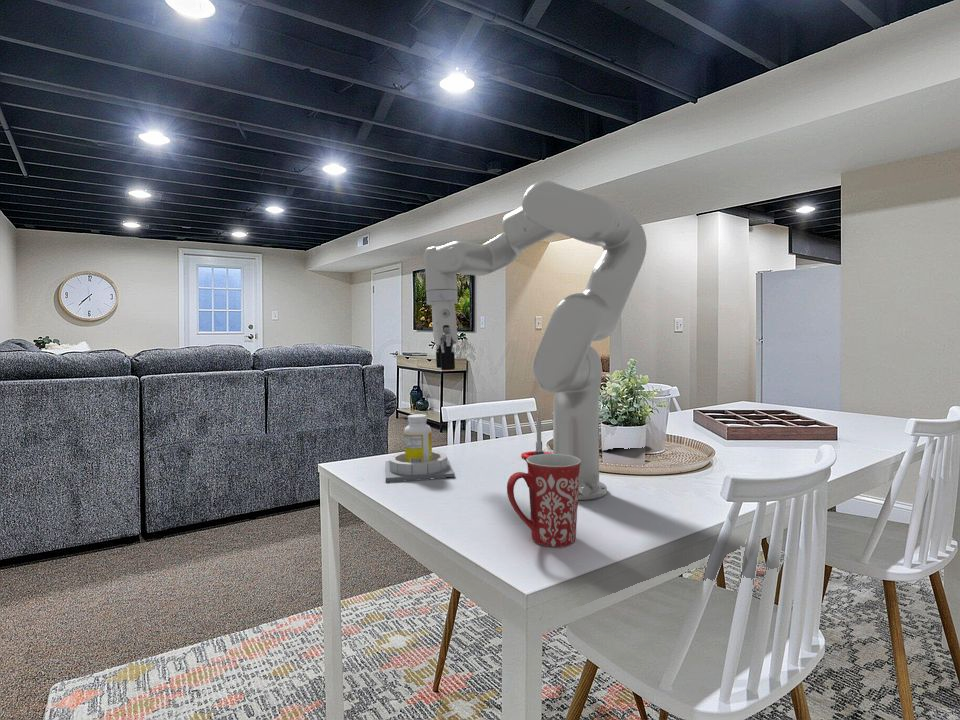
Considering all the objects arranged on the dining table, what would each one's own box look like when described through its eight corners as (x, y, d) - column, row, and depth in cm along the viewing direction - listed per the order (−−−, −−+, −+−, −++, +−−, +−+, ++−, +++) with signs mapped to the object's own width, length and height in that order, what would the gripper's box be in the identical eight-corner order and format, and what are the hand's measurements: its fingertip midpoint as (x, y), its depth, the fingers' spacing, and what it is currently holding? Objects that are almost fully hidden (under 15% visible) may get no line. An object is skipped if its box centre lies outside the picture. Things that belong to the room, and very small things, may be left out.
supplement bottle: (423, 462, 143) (421, 412, 142) (437, 467, 137) (436, 415, 137) (400, 466, 139) (398, 415, 138) (414, 472, 133) (412, 418, 133)
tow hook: (519, 455, 154) (523, 462, 145) (519, 408, 154) (522, 412, 144) (550, 455, 154) (555, 461, 145) (549, 408, 154) (555, 412, 145)
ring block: (454, 477, 132) (454, 462, 131) (385, 482, 129) (385, 467, 129) (447, 461, 147) (446, 448, 147) (385, 465, 145) (385, 451, 144)
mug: (567, 526, 99) (566, 451, 98) (591, 545, 90) (590, 463, 89) (499, 535, 95) (497, 457, 95) (518, 556, 87) (516, 470, 86)
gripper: (463, 295, 128) (466, 369, 129) (452, 300, 145) (455, 365, 146) (430, 296, 127) (434, 371, 127) (423, 301, 144) (426, 367, 144)
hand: (445, 368), depth 137 cm, fingers open, 9 cm apart
